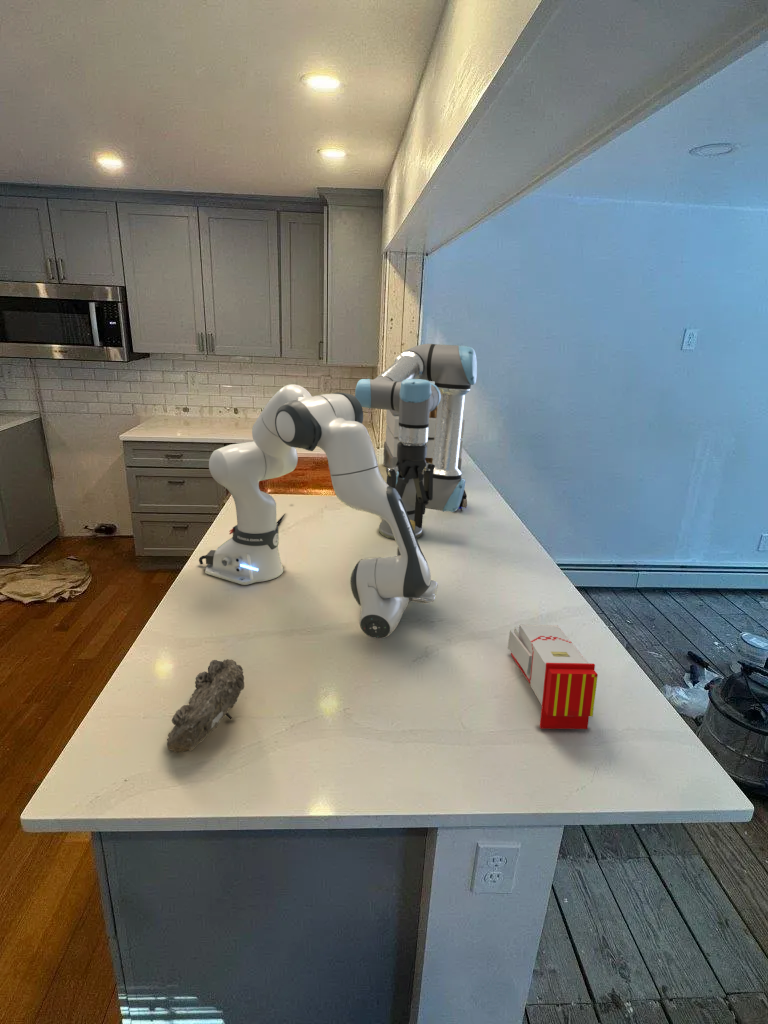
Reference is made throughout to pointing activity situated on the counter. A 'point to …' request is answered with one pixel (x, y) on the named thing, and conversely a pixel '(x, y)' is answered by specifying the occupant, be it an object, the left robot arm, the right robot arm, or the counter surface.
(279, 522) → the feather
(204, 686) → the grey elongated lump
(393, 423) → the transformer
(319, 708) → the counter surface
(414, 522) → the cap
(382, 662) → the counter surface
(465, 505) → the figurine character
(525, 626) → the toy
